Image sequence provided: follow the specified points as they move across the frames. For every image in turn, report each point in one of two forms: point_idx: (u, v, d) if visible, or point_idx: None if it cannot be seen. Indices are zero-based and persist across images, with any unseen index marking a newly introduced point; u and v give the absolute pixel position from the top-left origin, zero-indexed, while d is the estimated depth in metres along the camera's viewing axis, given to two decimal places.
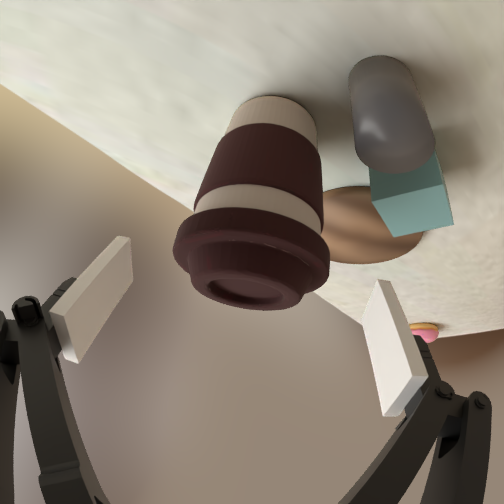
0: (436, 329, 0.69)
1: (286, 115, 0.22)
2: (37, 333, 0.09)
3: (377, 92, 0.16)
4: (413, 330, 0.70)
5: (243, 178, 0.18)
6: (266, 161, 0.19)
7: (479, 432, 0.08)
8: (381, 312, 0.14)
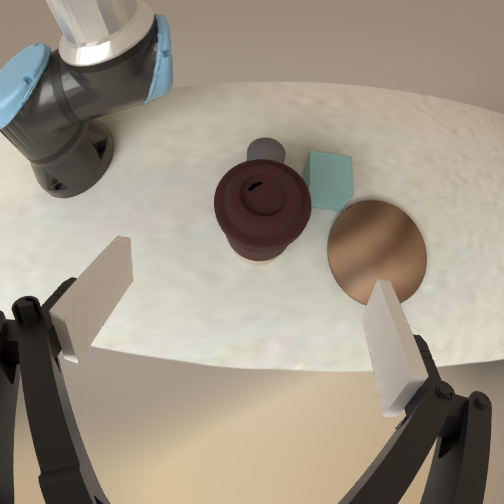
0: None
1: None
2: (37, 333, 0.09)
3: None
4: None
5: None
6: None
7: (479, 432, 0.08)
8: (381, 312, 0.14)
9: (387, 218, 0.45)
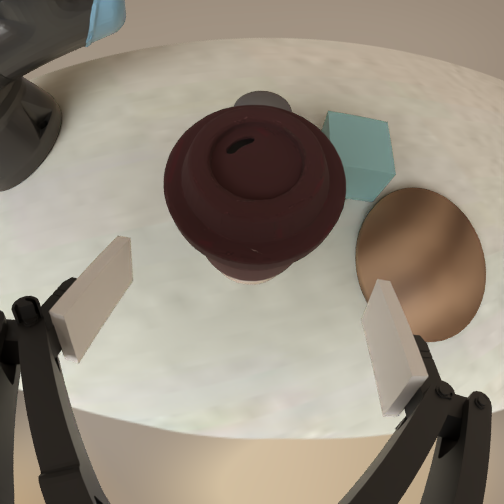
0: None
1: None
2: (37, 333, 0.09)
3: None
4: None
5: None
6: None
7: (479, 432, 0.08)
8: (381, 312, 0.14)
9: (436, 213, 0.30)
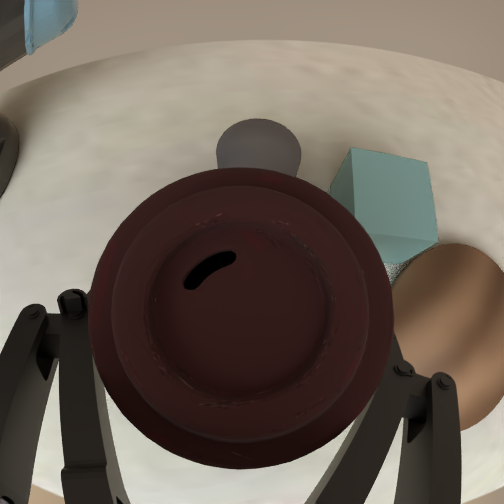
0: None
1: None
2: (81, 327, 0.10)
3: None
4: None
5: None
6: None
7: (446, 413, 0.08)
8: None
9: (474, 276, 0.23)
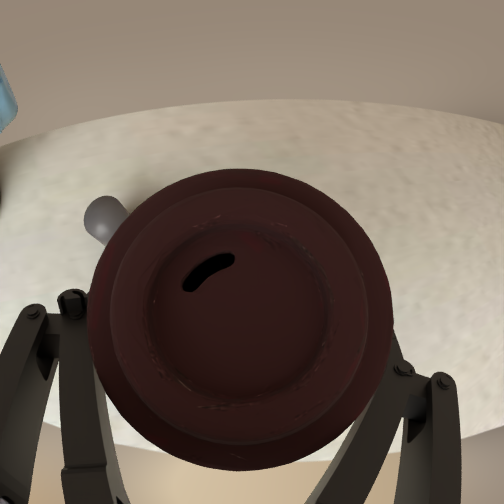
0: None
1: None
2: (81, 327, 0.10)
3: None
4: None
5: None
6: None
7: (446, 414, 0.08)
8: None
9: None
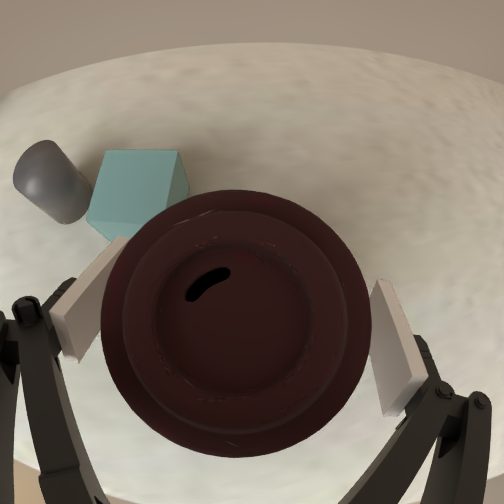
0: None
1: None
2: (37, 333, 0.09)
3: None
4: None
5: None
6: None
7: (479, 432, 0.08)
8: (382, 312, 0.14)
9: None
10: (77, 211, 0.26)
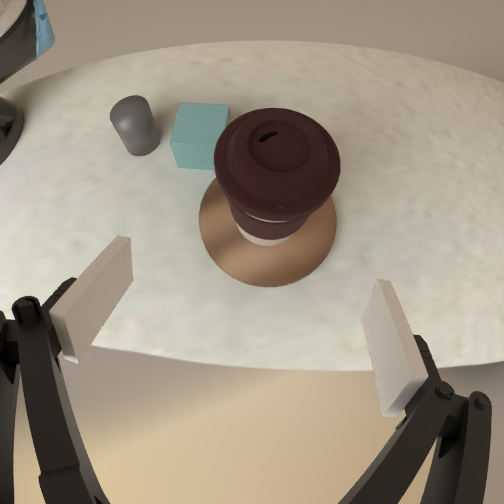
0: None
1: None
2: (37, 333, 0.09)
3: None
4: None
5: None
6: None
7: (479, 432, 0.08)
8: (381, 312, 0.14)
9: None
10: (151, 146, 0.39)
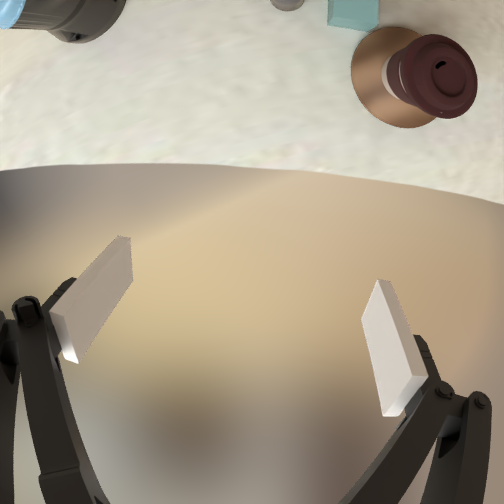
0: None
1: None
2: (37, 333, 0.09)
3: None
4: None
5: (402, 52, 0.29)
6: (403, 48, 0.29)
7: (479, 432, 0.08)
8: (382, 312, 0.14)
9: None
10: (300, 4, 0.35)
